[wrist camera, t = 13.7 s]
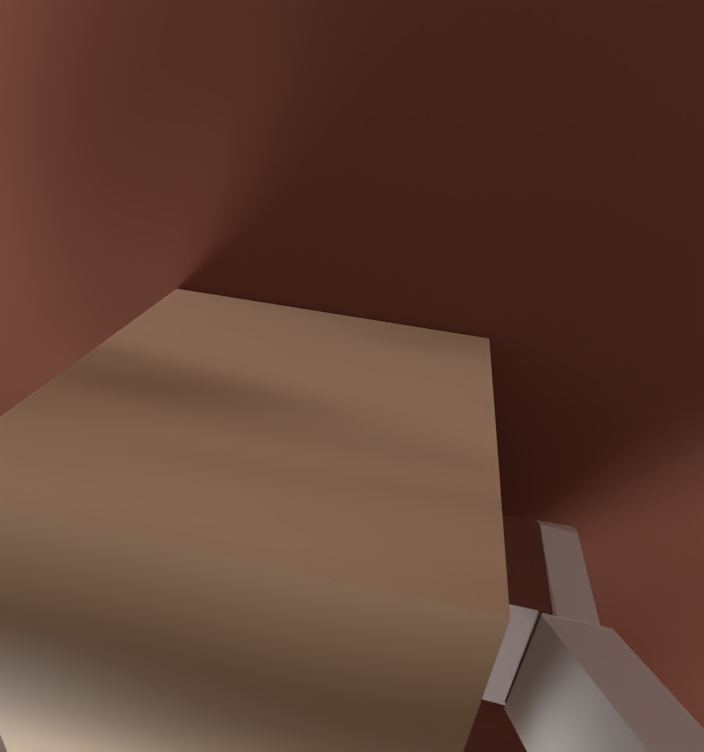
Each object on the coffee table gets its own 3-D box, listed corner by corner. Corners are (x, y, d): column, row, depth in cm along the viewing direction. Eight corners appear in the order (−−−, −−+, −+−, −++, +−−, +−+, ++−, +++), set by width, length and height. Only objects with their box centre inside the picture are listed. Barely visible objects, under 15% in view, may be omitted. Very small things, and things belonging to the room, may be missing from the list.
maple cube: (434, 569, 11) (411, 899, 6) (192, 518, 11) (22, 789, 7) (489, 338, 8) (509, 619, 4) (177, 288, 9) (-98, 487, 5)
